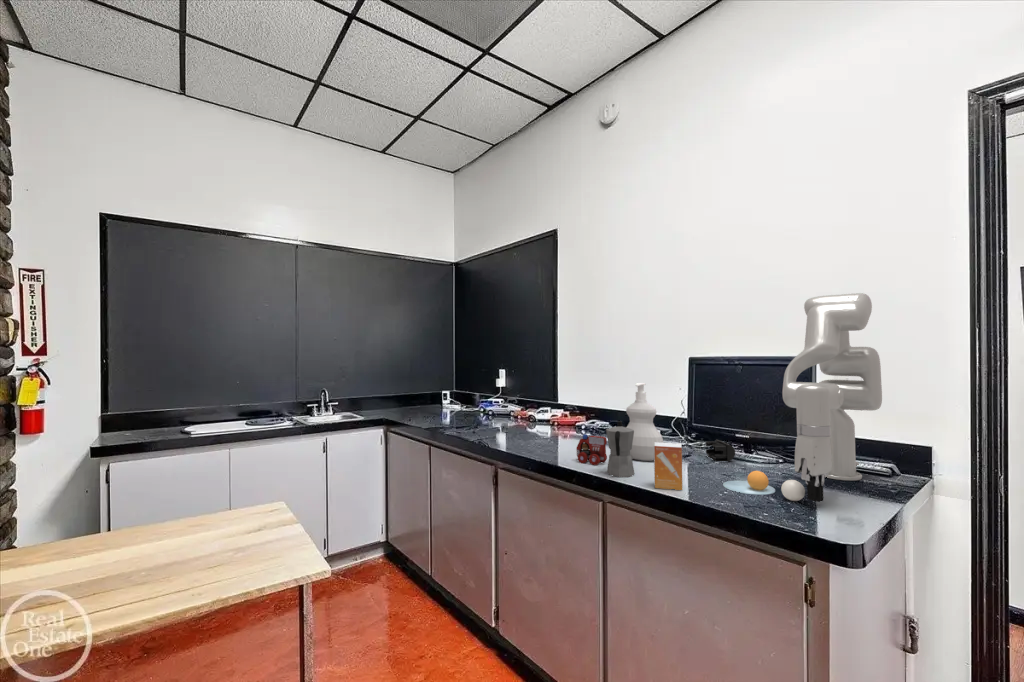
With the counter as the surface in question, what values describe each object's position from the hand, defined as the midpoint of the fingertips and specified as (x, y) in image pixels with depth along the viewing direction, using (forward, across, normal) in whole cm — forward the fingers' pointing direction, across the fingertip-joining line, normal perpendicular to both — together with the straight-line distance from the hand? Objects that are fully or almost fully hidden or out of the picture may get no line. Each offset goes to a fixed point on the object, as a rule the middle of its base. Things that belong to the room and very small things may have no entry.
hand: (815, 500), depth 121 cm
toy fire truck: (+2, +20, -69) cm, 72 cm away
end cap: (+2, -25, -47) cm, 53 cm away
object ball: (-1, 0, -16) cm, 16 cm away
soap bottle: (+2, 0, -63) cm, 63 cm away
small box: (+2, +20, -32) cm, 38 cm away
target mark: (+2, 0, -19) cm, 19 cm away
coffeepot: (+2, +23, -50) cm, 55 cm away
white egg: (-1, +1, -5) cm, 6 cm away
